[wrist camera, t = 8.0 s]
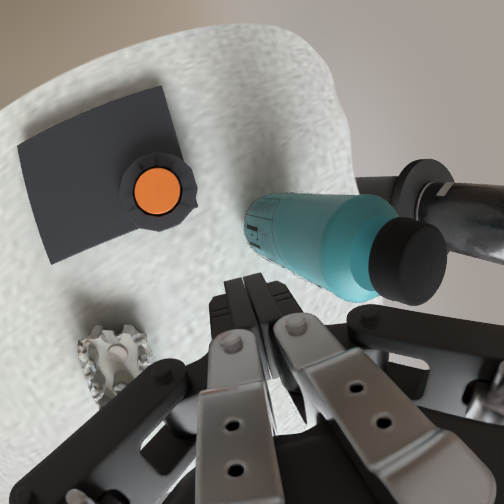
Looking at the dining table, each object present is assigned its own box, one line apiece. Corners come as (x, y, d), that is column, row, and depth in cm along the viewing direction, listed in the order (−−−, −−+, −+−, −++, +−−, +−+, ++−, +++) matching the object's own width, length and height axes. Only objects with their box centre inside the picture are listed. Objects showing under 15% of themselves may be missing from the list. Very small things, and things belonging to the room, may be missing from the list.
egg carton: (82, 321, 26) (73, 338, 22) (152, 322, 28) (151, 340, 24) (98, 402, 28) (94, 424, 24) (159, 403, 30) (161, 425, 26)
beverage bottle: (224, 216, 29) (351, 256, 10) (277, 179, 30) (444, 167, 11) (260, 268, 31) (398, 363, 12) (308, 230, 32) (471, 275, 13)
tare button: (171, 164, 23) (172, 161, 22) (184, 204, 24) (186, 204, 23) (130, 178, 22) (128, 176, 21) (144, 218, 23) (143, 220, 22)
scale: (163, 91, 24) (164, 77, 21) (200, 212, 28) (206, 215, 25) (24, 148, 21) (9, 143, 18) (60, 267, 24) (48, 277, 21)
